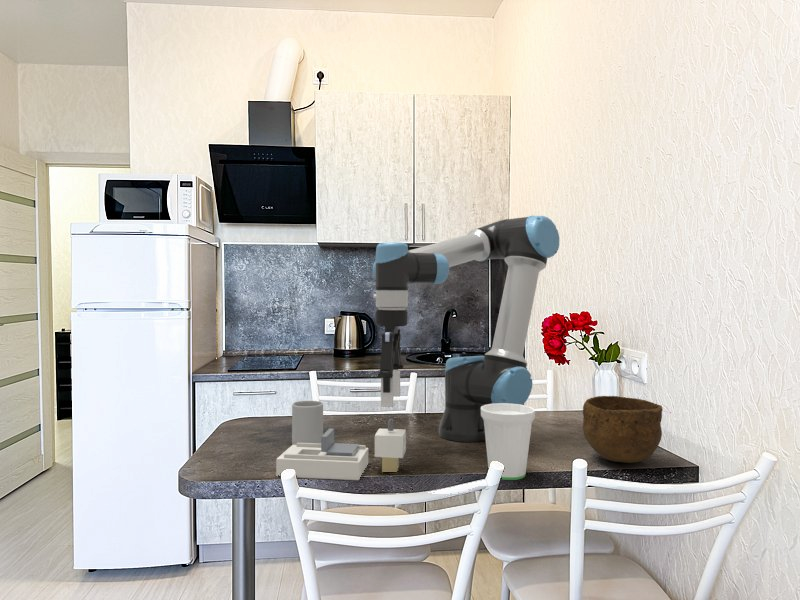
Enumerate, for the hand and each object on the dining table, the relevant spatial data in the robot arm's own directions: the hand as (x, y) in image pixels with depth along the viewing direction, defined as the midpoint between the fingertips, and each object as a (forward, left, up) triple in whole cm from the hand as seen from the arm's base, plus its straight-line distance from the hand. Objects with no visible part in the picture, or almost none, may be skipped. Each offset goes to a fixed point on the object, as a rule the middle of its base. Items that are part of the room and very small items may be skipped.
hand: (390, 401), depth 136 cm
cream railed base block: (+16, +2, -16) cm, 23 cm away
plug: (0, 0, -16) cm, 16 cm away
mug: (+26, -22, -16) cm, 38 cm away
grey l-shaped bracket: (+12, +2, -12) cm, 17 cm away
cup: (-27, -1, -16) cm, 32 cm away
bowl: (-56, -15, -16) cm, 60 cm away
